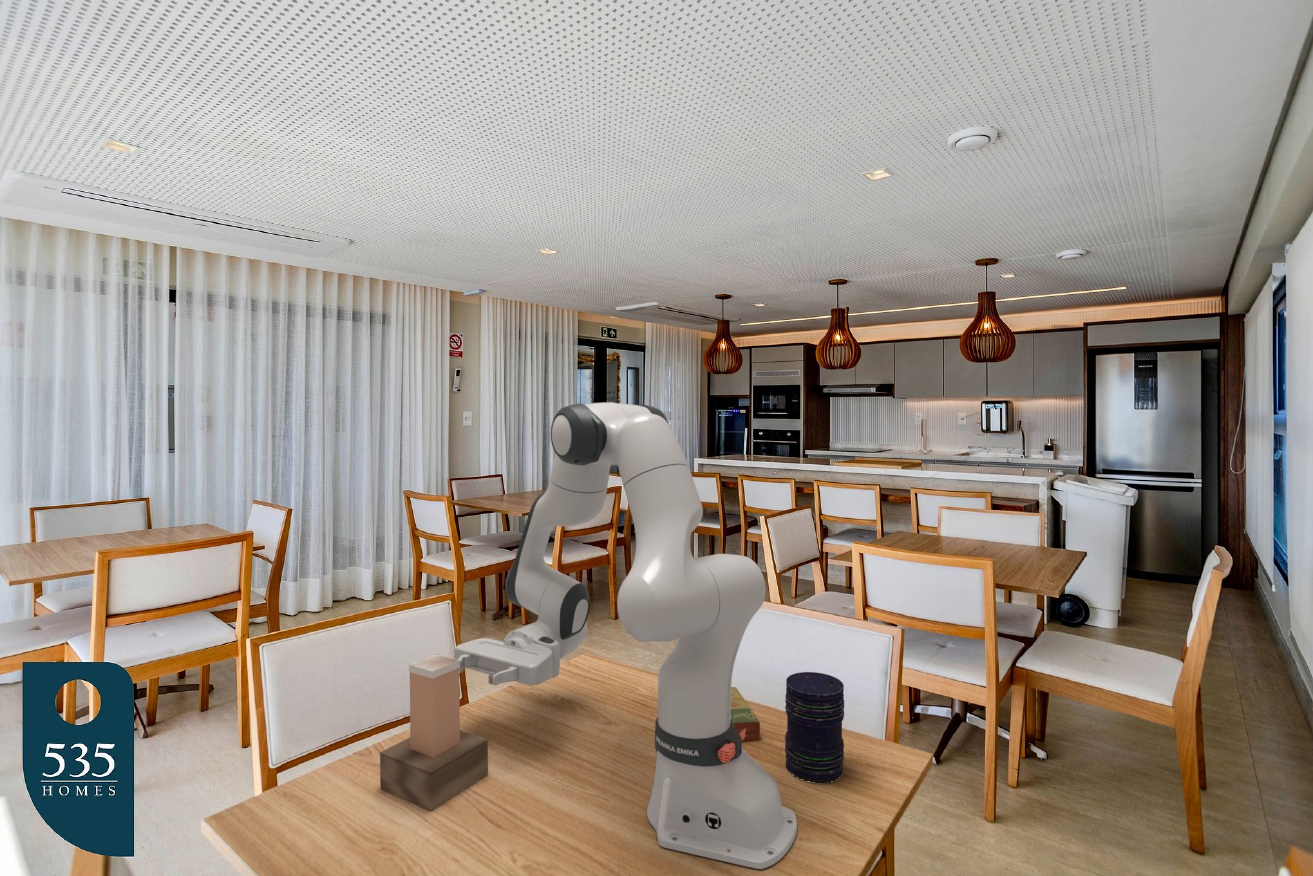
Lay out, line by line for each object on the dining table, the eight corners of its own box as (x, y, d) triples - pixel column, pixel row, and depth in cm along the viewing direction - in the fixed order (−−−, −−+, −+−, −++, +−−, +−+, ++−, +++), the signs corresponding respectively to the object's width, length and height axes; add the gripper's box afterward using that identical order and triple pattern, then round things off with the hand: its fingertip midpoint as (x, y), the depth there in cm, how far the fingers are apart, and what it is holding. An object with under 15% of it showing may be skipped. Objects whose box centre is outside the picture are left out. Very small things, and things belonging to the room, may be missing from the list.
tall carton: (460, 743, 109) (459, 660, 109) (433, 758, 104) (432, 671, 104) (437, 734, 112) (436, 654, 111) (410, 749, 107) (409, 664, 107)
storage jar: (791, 784, 107) (792, 695, 107) (779, 754, 117) (780, 672, 117) (851, 784, 108) (852, 694, 107) (834, 753, 117) (835, 671, 117)
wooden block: (488, 774, 110) (487, 739, 110) (431, 811, 100) (430, 772, 100) (438, 756, 116) (438, 722, 116) (380, 788, 106) (380, 752, 106)
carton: (736, 705, 138) (737, 685, 138) (761, 742, 122) (761, 720, 122) (698, 708, 137) (698, 687, 137) (718, 745, 121) (718, 723, 121)
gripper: (485, 626, 132) (430, 646, 120) (565, 644, 122) (514, 668, 110) (485, 656, 132) (431, 680, 120) (565, 677, 122) (514, 705, 110)
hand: (471, 675), depth 115 cm, fingers open, 8 cm apart
